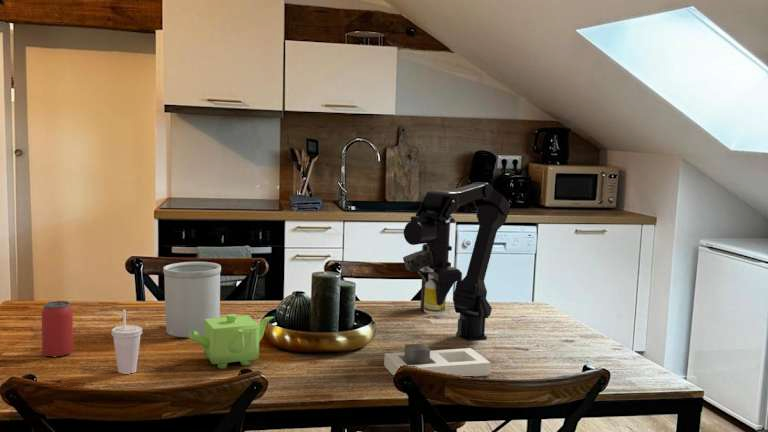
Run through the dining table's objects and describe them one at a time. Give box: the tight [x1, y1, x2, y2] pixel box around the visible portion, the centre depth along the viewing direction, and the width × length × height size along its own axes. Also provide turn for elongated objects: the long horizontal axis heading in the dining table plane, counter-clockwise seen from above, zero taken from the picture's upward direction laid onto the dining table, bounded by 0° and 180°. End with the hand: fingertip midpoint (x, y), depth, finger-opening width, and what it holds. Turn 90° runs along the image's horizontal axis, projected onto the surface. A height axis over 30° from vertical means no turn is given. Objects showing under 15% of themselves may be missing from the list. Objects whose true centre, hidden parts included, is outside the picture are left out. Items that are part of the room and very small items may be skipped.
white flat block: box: [383, 347, 492, 377], centre depth 161 cm, size 22×11×3 cm, turn 108°
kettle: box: [188, 313, 275, 369], centre depth 161 cm, size 15×14×11 cm
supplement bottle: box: [423, 273, 447, 315], centre depth 175 cm, size 5×5×10 cm
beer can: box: [41, 300, 74, 357], centre depth 162 cm, size 7×7×12 cm
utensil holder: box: [162, 261, 222, 338], centre depth 185 cm, size 15×15×18 cm
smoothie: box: [111, 308, 143, 375], centre depth 152 cm, size 6×6×14 cm
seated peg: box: [404, 343, 431, 365], centre depth 159 cm, size 4×4×6 cm
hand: (434, 302), depth 175 cm, fingers closed on supplement bottle, 5 cm apart
